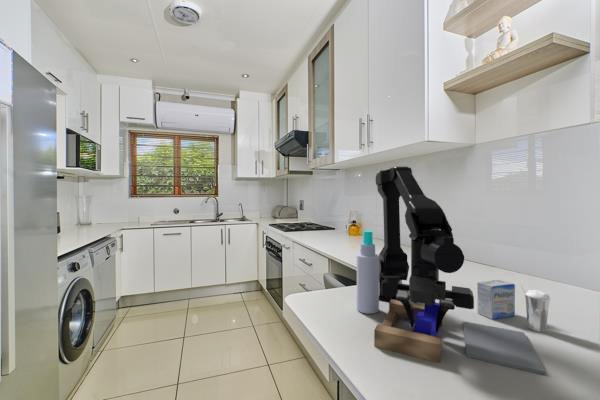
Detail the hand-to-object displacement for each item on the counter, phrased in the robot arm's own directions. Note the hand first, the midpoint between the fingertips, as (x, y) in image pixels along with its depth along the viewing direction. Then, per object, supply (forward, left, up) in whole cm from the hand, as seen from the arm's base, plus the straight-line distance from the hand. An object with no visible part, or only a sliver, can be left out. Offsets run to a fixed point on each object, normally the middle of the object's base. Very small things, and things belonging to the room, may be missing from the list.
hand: (424, 329), depth 63 cm
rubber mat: (+14, +3, -2) cm, 14 cm away
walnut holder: (-3, 0, -1) cm, 3 cm away
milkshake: (+23, +16, -2) cm, 28 cm away
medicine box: (+16, +21, -2) cm, 26 cm away
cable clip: (0, 0, -2) cm, 2 cm away
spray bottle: (-15, +8, -2) cm, 17 cm away
